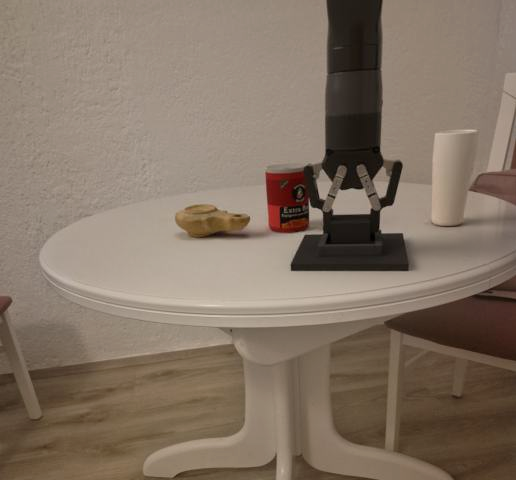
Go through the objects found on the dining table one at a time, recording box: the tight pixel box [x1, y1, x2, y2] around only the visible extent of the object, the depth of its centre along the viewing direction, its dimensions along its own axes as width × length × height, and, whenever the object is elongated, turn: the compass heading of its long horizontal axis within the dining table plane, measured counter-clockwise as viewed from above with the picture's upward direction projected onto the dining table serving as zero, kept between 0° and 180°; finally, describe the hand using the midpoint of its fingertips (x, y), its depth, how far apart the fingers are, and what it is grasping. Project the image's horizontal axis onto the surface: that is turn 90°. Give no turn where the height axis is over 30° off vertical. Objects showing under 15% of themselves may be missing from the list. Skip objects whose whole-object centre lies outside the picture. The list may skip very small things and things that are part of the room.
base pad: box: [290, 229, 410, 272], centre depth 73 cm, size 16×16×2 cm
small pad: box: [331, 213, 371, 244], centre depth 72 cm, size 6×6×3 cm
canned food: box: [264, 162, 310, 233], centre depth 88 cm, size 8×8×11 cm
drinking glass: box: [430, 129, 479, 227], centre depth 82 cm, size 7×7×15 cm
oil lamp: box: [174, 204, 251, 238], centre depth 89 cm, size 11×14×5 cm
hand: (351, 235), depth 72 cm, fingers closed on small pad, 5 cm apart
